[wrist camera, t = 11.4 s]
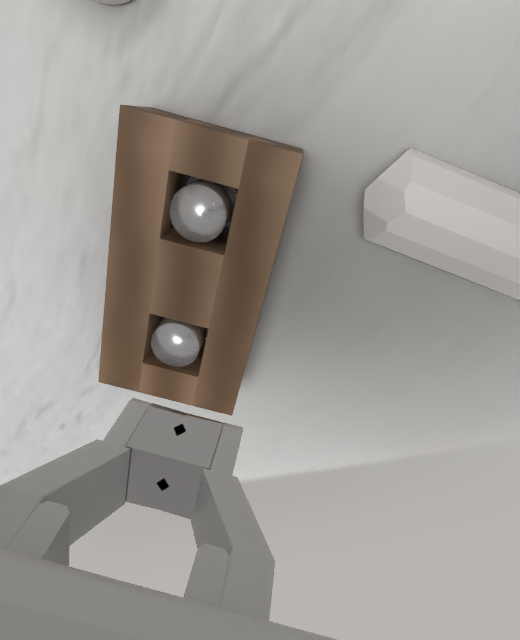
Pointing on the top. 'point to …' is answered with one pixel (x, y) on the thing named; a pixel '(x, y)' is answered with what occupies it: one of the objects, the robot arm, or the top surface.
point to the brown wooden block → (189, 253)
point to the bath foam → (112, 2)
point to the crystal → (447, 220)
